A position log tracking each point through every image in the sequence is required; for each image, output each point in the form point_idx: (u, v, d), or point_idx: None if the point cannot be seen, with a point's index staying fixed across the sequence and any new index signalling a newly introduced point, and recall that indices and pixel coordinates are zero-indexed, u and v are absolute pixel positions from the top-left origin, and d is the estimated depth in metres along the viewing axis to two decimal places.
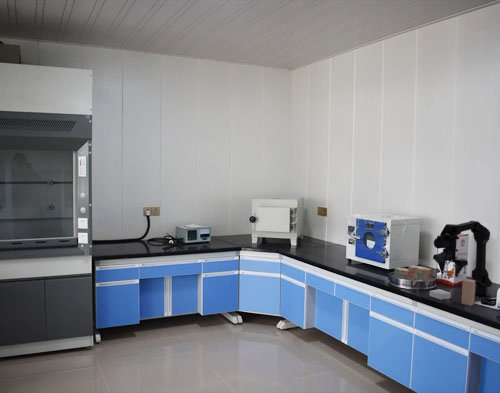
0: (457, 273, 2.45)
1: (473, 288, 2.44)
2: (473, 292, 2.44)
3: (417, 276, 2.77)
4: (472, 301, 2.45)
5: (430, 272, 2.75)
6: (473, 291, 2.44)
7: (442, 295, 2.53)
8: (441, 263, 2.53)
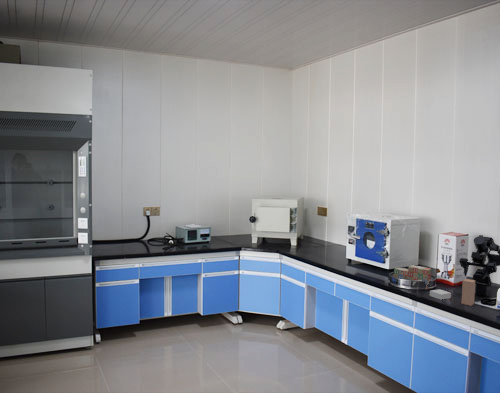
0: (485, 275, 2.48)
1: (473, 288, 2.44)
2: (473, 292, 2.44)
3: (416, 276, 2.77)
4: (472, 301, 2.45)
5: (430, 272, 2.75)
6: (473, 291, 2.44)
7: (442, 295, 2.53)
8: (466, 267, 2.56)
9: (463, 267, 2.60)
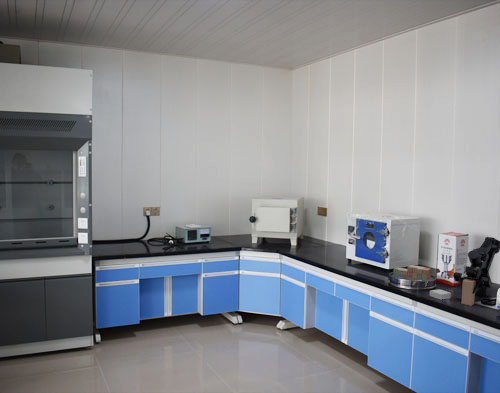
0: (475, 290, 2.43)
1: (473, 288, 2.44)
2: None
3: (416, 276, 2.77)
4: (472, 301, 2.45)
5: (429, 272, 2.75)
6: None
7: (442, 295, 2.53)
8: None
9: (460, 282, 2.53)
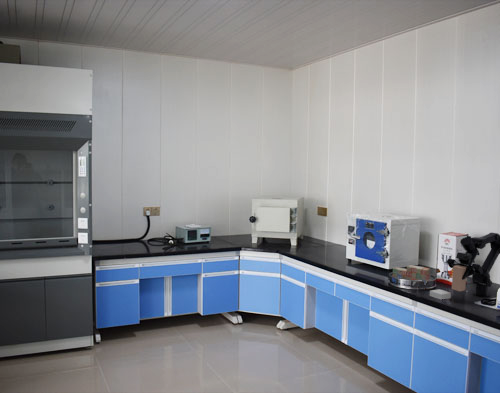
0: (465, 276, 2.45)
1: (463, 274, 2.46)
2: None
3: (415, 276, 2.77)
4: (462, 287, 2.47)
5: (428, 272, 2.75)
6: None
7: (442, 295, 2.53)
8: None
9: None
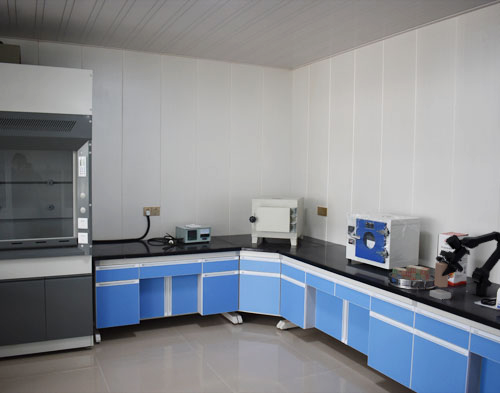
0: (445, 273, 2.53)
1: None
2: None
3: (414, 276, 2.77)
4: (443, 284, 2.55)
5: (428, 272, 2.75)
6: None
7: (442, 295, 2.53)
8: None
9: None
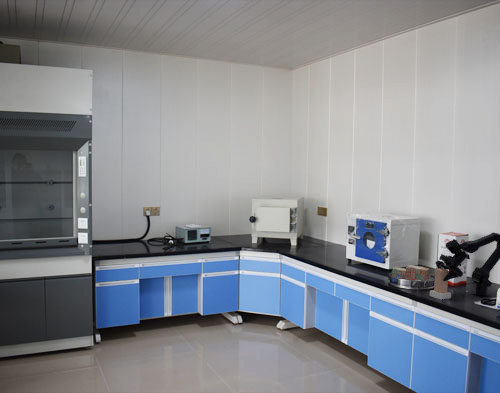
0: (446, 278, 2.52)
1: (443, 277, 2.55)
2: None
3: (414, 276, 2.77)
4: (443, 290, 2.55)
5: (427, 272, 2.75)
6: None
7: (442, 295, 2.53)
8: None
9: None
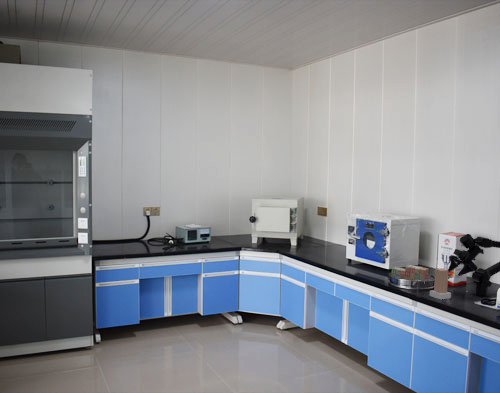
0: (461, 272, 2.53)
1: (443, 277, 2.55)
2: (444, 281, 2.55)
3: (413, 276, 2.77)
4: (443, 290, 2.55)
5: (427, 272, 2.75)
6: (444, 280, 2.55)
7: (442, 295, 2.53)
8: (453, 263, 2.64)
9: None
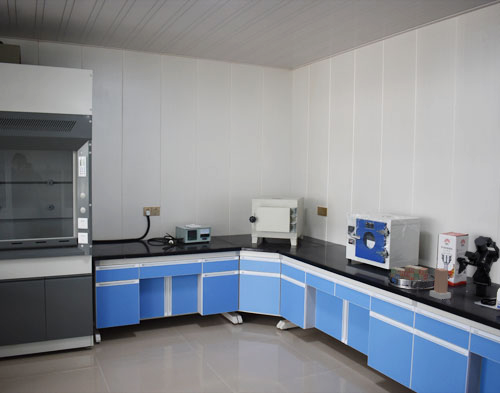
0: (475, 275, 2.48)
1: (443, 277, 2.55)
2: (444, 281, 2.55)
3: (413, 276, 2.77)
4: (443, 290, 2.55)
5: (426, 272, 2.75)
6: (444, 280, 2.55)
7: (442, 295, 2.53)
8: (462, 266, 2.58)
9: None
